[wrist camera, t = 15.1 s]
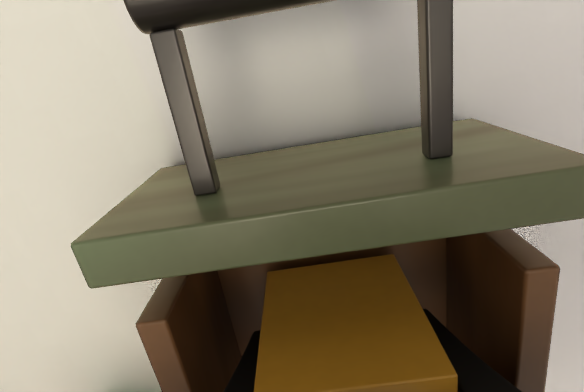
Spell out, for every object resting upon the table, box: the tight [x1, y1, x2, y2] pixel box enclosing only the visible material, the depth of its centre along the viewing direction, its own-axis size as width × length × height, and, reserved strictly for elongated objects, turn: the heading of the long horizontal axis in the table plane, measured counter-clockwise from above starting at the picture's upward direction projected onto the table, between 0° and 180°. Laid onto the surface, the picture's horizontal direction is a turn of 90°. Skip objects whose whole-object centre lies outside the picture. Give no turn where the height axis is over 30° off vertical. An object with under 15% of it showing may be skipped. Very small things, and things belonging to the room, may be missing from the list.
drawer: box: [71, 0, 584, 392], centre depth 11 cm, size 19×11×6 cm, turn 9°
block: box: [254, 254, 458, 392], centre depth 11 cm, size 4×4×5 cm
